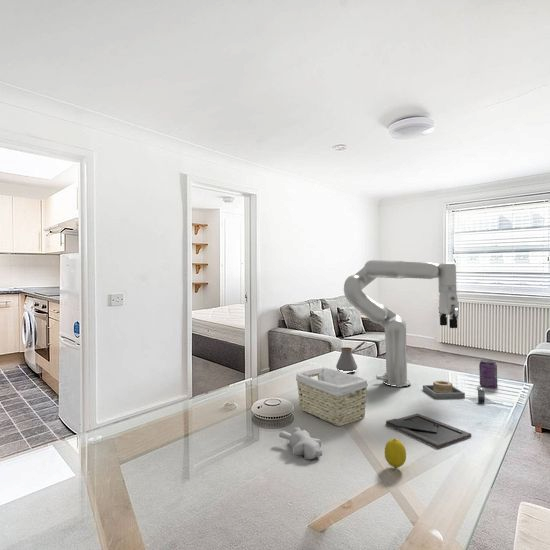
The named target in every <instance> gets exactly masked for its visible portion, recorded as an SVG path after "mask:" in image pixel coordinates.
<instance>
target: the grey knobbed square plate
mask: <svg viewBox="0 0 550 550" xmlns="http://www.w3.org/2000/svg"><path fill="white" fill-rule="evenodd" d="M476 390H477V397H467V400H470V401H471V402H473V403H475V404H476V405H497V404H498V403H497V402H495V401H494V400H492V399H490V398H488V397H486V396H485V395H486V393H485V391H486V387H483V386H479V387H476Z"/></svg>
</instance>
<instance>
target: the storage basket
mask: <svg viewBox="0 0 550 550" xmlns="http://www.w3.org/2000/svg"><path fill="white" fill-rule="evenodd" d="M313 377H317V379H315V378H313ZM295 381H296V385H297V391H298V392H297V394H298V403H299V409H300V410H301V411H304V412H306V413H308V414H310V415H312V416H315V417H317V418H320V419H321V420H322V421H325V422H329V423H330V424H333V425H335V426H338V427H342V426H344V425H347V424H350V423H354V422H357V421H360V420H362V419H364V418H365V416H366V407H367V406H366V401H367V388H368V384H369V383H368V380H367V379H365V378H363V377H361V376H357V375H354V374H352V373H349V374H347V373H343V372H340V371H339V370H338V369H337V370H336V369H332V368H328V367H321V368H320V367H319V368H314V369H310V370H305V371H301V372H297V373H296V376H295Z"/></svg>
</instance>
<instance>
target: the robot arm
mask: <svg viewBox="0 0 550 550" xmlns="http://www.w3.org/2000/svg"><path fill="white" fill-rule="evenodd" d="M378 278H384V279H423V280H432V279H438V293H439V294H438V295H439V296H438V313H439V315H438V316H439V325H440V326H448V321H449V328H450V329H458V317H459V301H458V299H459V298H458V295H457V291H458V290H457V265H456V264H455V262H441V263H433V262H429V261H428V262H426V261H425V262H423V261H421V262H419V261H404V260H403V261H402V260H382V259H381V260H379V259H371V260H368V261H366V262H365V264H364V266H363V267H362V268H361V269H360V270H359V271H358V272H356V273H354V274H352V275H349V276H348V277H347V278H346V279H345V281H344V284H343V294H344V296H345V298H346V301H348V303H349V304H350V305H351V306H352V307H354V308H355V309H356V310H357V311H359V313H361V314H363V316H365V317H366V318H367V319H369V321H371V322H372V323H375V324H379V325H380V327H382V328H383V329H384V339H385V340H384V342H385V369H386V370H385V372H384V374H382V375H376V376H375V377H376V378H375V379H376V380H379V381H382V383H383V382H385V383H387V384H390V385H396V386H407V385H410V386H411V383H412V382H411V381H410V380H408V367H407V366H408V365H407V360H408V359H407V358H408V357H407V323H406V321H405V320H404V318H402V317H401V316H400V315H398V314H397V313H396V312H395V311H393V310H392V309H390V308H389V307H388V306H386V305H385V304H383V303H381V302H376V301H375V300H374V299H372V298H371V297H370V296H369V295H367V294H366V293H365V292H364V291H363V289H365V288H366V287H367V286H368V285H370V284H371V283H372V282H374V280H375V279H378ZM447 315H448V316H449V320H448V316H447ZM407 387H408V386H407Z"/></svg>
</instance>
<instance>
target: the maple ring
mask: <svg viewBox="0 0 550 550" xmlns="http://www.w3.org/2000/svg"><path fill="white" fill-rule="evenodd" d="M432 385H433V391H434V392H435V393H453V391H452V386H453V383H452V382H450V381H446V380H435V381H433V382H432Z"/></svg>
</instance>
